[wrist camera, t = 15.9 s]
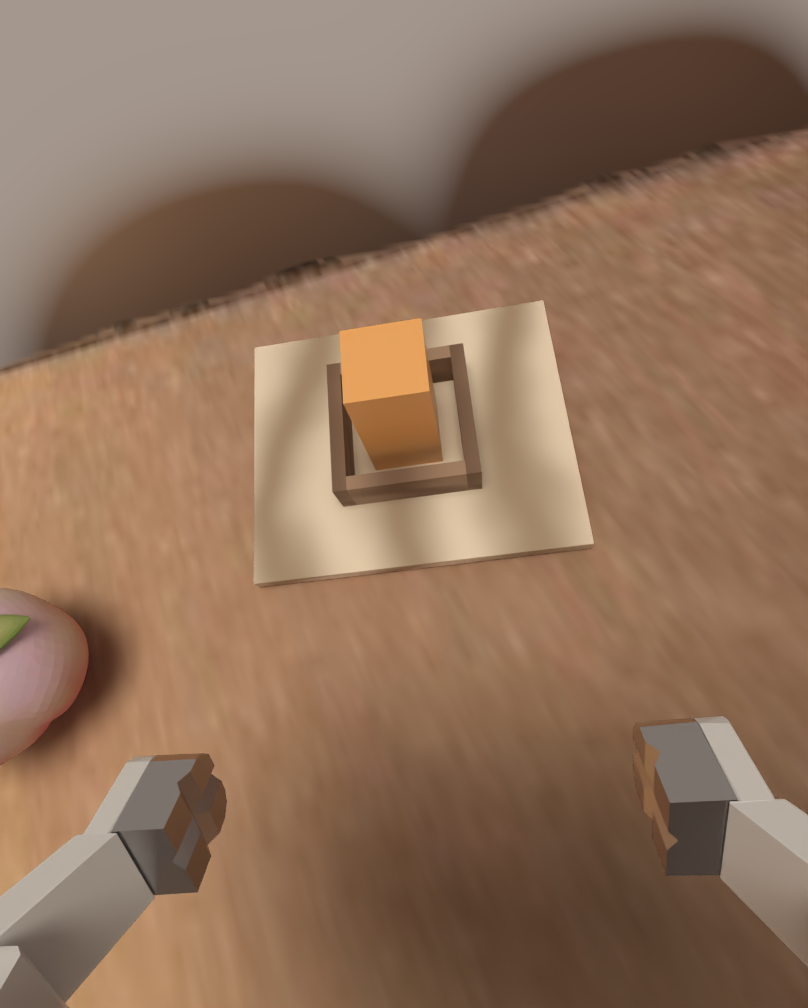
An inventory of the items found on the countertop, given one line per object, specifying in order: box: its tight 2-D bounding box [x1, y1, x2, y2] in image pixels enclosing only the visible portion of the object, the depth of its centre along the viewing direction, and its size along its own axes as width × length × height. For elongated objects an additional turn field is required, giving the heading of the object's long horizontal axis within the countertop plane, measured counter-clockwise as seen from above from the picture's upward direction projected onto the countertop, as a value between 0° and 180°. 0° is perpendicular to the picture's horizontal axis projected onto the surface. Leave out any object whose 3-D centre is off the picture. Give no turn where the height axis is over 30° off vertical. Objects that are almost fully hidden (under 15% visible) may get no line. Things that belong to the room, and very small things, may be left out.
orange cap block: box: [340, 318, 443, 470], centre depth 30 cm, size 4×4×8 cm
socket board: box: [254, 300, 594, 587], centre depth 33 cm, size 19×16×4 cm
